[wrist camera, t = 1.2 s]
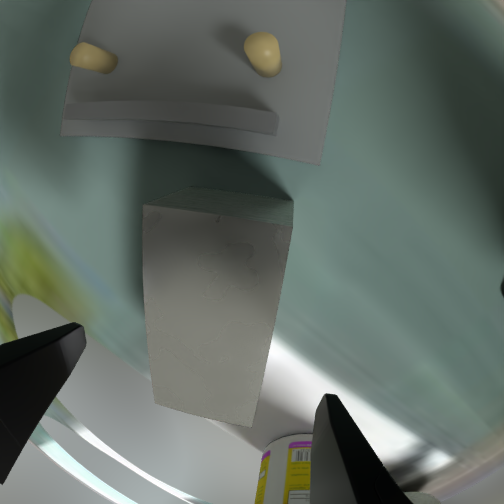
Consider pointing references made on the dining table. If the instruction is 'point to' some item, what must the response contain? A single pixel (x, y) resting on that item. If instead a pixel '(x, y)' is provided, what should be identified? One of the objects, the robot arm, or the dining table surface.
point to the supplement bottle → (285, 471)
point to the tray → (208, 73)
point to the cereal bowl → (421, 498)
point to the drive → (212, 297)
